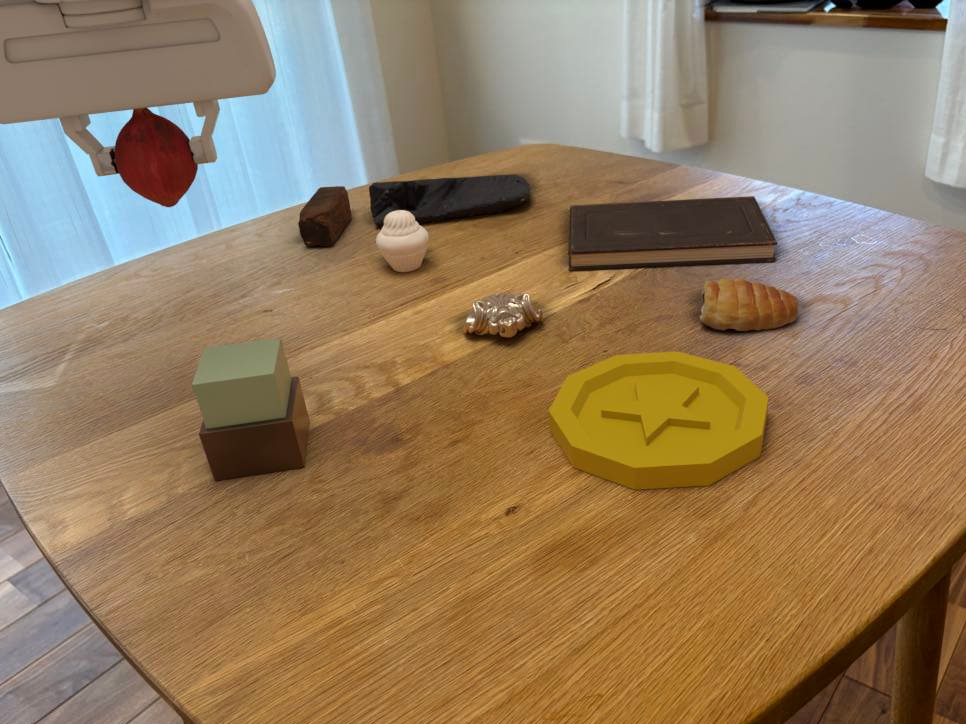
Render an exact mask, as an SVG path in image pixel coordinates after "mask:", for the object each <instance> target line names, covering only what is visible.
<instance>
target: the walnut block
mask: <svg viewBox="0 0 966 724" xmlns="http://www.w3.org/2000/svg"><path fill="white" fill-rule="evenodd" d="M291 379H292V380H291V387H290V393H289V399H288V406H287V412H286V417H285V418H280V419H273V420H266V421H259V422H252V423H245V424H238V425H231V426H225V427H218V428H211V429H206V427H205V424H204V421H203V420H202V422H201V426H200V429H199V432H198V436H199V439H200V442H201V445H202V448H203V451H204V454H205V456H206V460H207V462H208V466H209V468H210V472H211V475H212V478H213V480H214V482H217V481H223V480H229V479H236V478H242V477H250V476H256V475H257V476H258V475H262V474H270V473H275V472H276V473H277V472H283V471H289V470H295V469H302V468H305V465H306V457H307V447H308V440H309V439H308V437H309V429H310V421H311V420H310V417H309V412H308V409H307V405H306V404H307V403H306V401H305V397H304V393H303V390H302V389H303V388H302V385H301V381H300V377H299V376H298V375H297V376H291Z"/></svg>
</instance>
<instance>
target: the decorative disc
mask: <svg viewBox="0 0 966 724" xmlns="http://www.w3.org/2000/svg"><path fill="white" fill-rule="evenodd" d="M769 398H770V397H769V396H768V395H767V394H766V393H765V392H764V391H763V390H762V389H760V388H759V387H758V386H757V385H756V384H755V383H754V382H753V381H752V380H751V379H750V378H749V377H747V376H746V375H745V374H744V373H743V372H742V371H741V370H739V368H738V367H736V366H735V365H733V364H727V363H725V362H724V363H723V362H720V361H716V360H713V359H708V358H705V357H701V356H697V355H692V354H688V353H685V352H681V351H679V350H678V351H677V350H676V351H661V352H660V351H659V352H645V353H630V354H628V353H627V354H616V355H613V356H611V357H608V358H606V359H604V360H602V361H599V362H597V363H595V364H593V365H591V366H588V367H585V368H583V369H581V370H579V371H576V372H574V373H572V374H570V375H567V376H566V378H565V380H564V381H563V384H562V386H561V387H560V389H559V391H558V393H557V395H556V396H555V398H554V400H553V402H552V404H551V405H550V407H549V409H548V419H549V421H548V422H549V431H550V433H551V435H552V436H553V438H554V439H555V441H556V443H557V445H558V446H559V448H560V449H561V451H562V452H563V454H564V455H565V457H566V458H567V460H568V462H569V464H570V465H571V466H572V468H573V469H576V470H579V471H582V472H585V473H588V474H590V475H592V476H596V477H599V478H601V479H604V480H607V481H609V482H613V483H614V484H618V485H621V486H623V487H625V488H628V489H632V490H634V491H637V490H655V489H671V488H672V489H675V488H689V487H706V486H707V487H708V486H711V485H713V484H714V483H717V482H718V481H720V480H721V479H723V478H725V477H727V476H729V475H730V474H732V473H733V472H735V471H737V470H739V469H740V468H743V467H744V466H746V465H748V464H750V463H751V462H753V461H755V460H756V459H759V458H760V457H761V455H762V454H761V453H762V449H763V442H764V436H765V430H766V425H767V420H768V411H769V410H768V407H769Z"/></svg>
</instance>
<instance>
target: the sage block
mask: <svg viewBox="0 0 966 724" xmlns="http://www.w3.org/2000/svg"><path fill="white" fill-rule="evenodd" d="M291 377H292V376H291V371H290V367H289V363H288V360H287V356H286V352H285V347H284V344H283V340H282V337H280V336H279V337H271V338H265V339H258V340H251V341H243V342H242V341H241V342H236V343H228V344H220V345H213V346H206V347H204V349H203V351H202V354H201V357H200V359H199V362H198V365H197V367H196V371H195V373H194V376H193V380H192V382H191V388H192V391H193V393H194V396H195V400H196V402H197V405H198V409H199V411H200V414H201V418H202V422H203V421H204V424H205V427H206V429H211V428H218V427H225V426H231V425H238V424H245V423H252V422H259V421H266V420H273V419H280V418H285V417H286V412H287V406H288V399H289V393H290V387H291V380H292V379H291Z"/></svg>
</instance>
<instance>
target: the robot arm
mask: <svg viewBox="0 0 966 724" xmlns="http://www.w3.org/2000/svg"><path fill="white" fill-rule="evenodd" d="M276 77H277V70H276V65H275V61H274V57H273V54H272V50H271V47H270V44H269V40H268V37H267V35H266V31H265V29H264V26H263V24H262V21H261V18H260V16H259V13H258V11H257V8H256V6H255V4H254V2H253V0H0V125H10V124H19V123H28V122H37V121H45V120H55V119H58V120H59V123H60V125H61V128H62V130H63V133H64V134H65V136H66V137H67V138H69V139H70V140H71V141H72V142H73V143H74V144H75V145H77V147H79V148H80V150H82V151H83V152H84V153H85V154H86V155H88V156H89V158H90V162H91V164H92V166H93V170H94V172H95V174H96V176H97V177H105V176H112V175H120V174H119V173H118V170H117V166H116V162H115V150H114V149H115V145H112V146H104V145H103V144H102V143H101V142H100V141H99V140H98V139H97V138H96V137H95V136H94V135H93V134H92V132H91V131H90V130H88V129H87V128H88V127H89V126H90V125H91V123H92V122H91V118H90V115H97V114H98V115H99V114H105V113H115V112H123V111H131V110H132V111H133V109H141V108H148V109H149V108H158V107H165V106H166V107H167V106H174V105H184V104H193V108H194V111H195V115H196V117H198V118H204V117H205V118H204V121H203V125H202V129H201V133H200V135H195V136H191V138H190V141H189V146H190V149H191V152H192V153H193V154H194V155H193V160H194V162H195V164H198V165H203V164H212V163H216V161H217V160H218V153H217V149H216V145H215V142H214V139H213V135H214V132H215V128H216V125H217V121H218V118H219V114H220V111H221V107H220V103H219V100H225V99H226V100H227V99H236V98H242V97H243V98H244V97H253V96H261V95H265V94H267V93H268V92H269V91H270V89H271V88H272V87H273V85H274V83H275V81H276Z"/></svg>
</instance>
